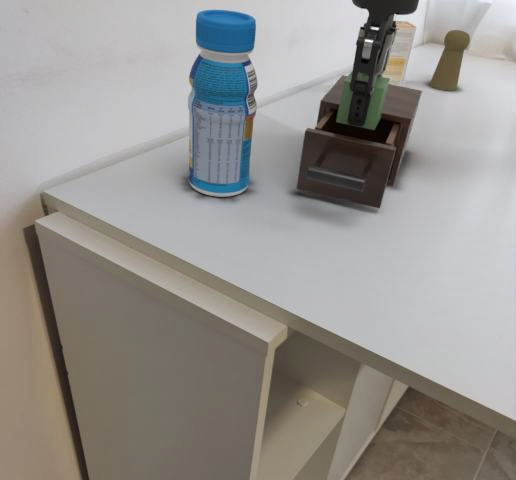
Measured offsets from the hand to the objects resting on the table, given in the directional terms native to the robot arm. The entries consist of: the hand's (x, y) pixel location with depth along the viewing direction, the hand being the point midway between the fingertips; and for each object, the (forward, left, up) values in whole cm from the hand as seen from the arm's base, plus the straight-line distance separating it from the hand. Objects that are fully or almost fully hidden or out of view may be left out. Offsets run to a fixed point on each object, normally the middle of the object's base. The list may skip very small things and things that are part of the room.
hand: (359, 117), depth 70 cm
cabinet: (-10, -6, -10) cm, 15 cm away
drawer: (+2, +1, -9) cm, 9 cm away
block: (0, 0, 0) cm, 0 cm away
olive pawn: (-60, -24, -10) cm, 65 cm away
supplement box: (-40, -27, -10) cm, 49 cm away
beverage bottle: (+15, -10, -10) cm, 21 cm away
